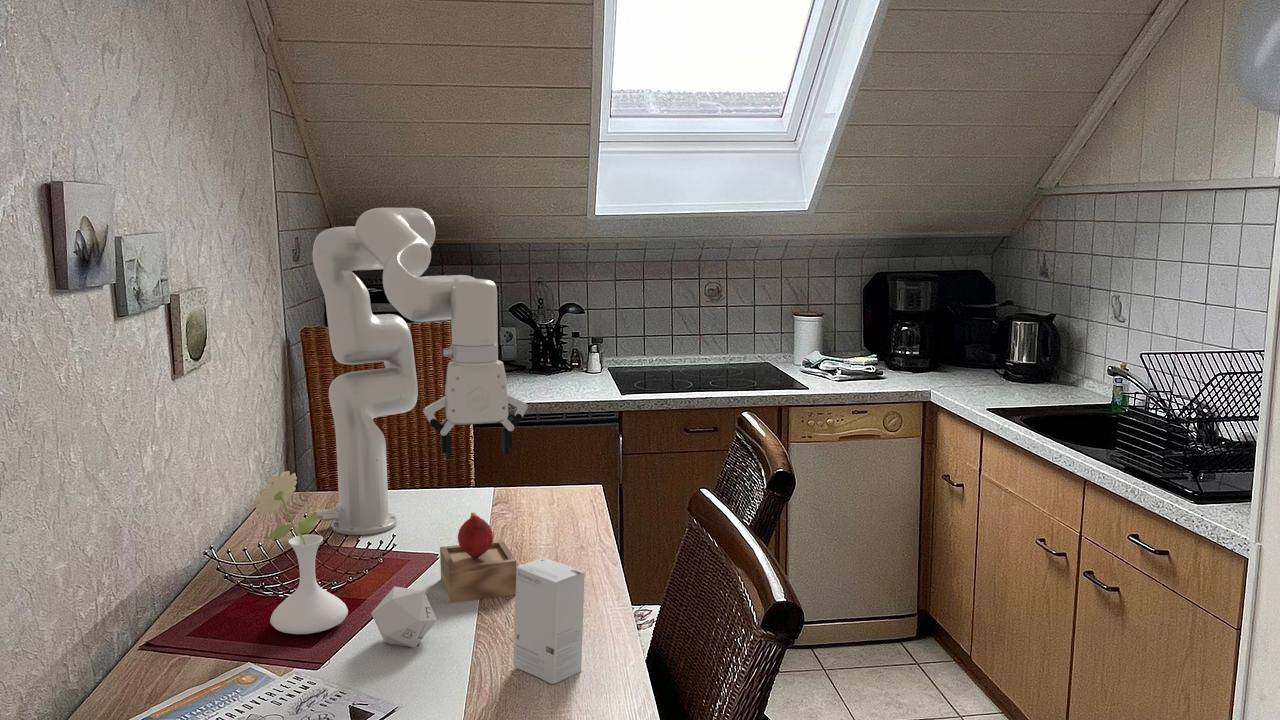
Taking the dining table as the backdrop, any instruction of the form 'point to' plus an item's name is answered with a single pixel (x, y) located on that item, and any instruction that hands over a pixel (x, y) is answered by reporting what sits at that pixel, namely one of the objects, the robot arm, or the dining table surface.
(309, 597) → the flower in vase
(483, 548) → the onion
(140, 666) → the dining table surface
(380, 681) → the dining table surface
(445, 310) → the robot arm
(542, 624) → the skincare box
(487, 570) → the walnut box
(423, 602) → the die
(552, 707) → the dining table surface
